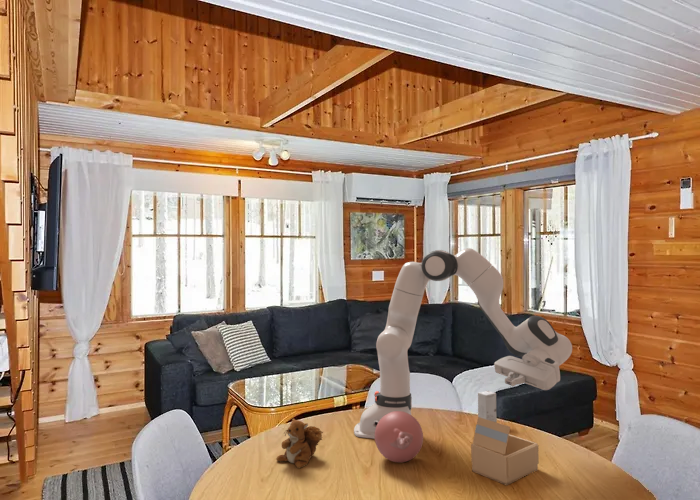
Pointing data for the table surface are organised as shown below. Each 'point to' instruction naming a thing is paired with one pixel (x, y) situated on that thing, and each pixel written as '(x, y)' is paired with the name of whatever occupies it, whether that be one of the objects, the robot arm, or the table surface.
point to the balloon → (398, 436)
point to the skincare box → (487, 405)
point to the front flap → (491, 435)
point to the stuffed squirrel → (300, 443)
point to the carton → (506, 460)
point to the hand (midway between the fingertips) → (508, 382)
